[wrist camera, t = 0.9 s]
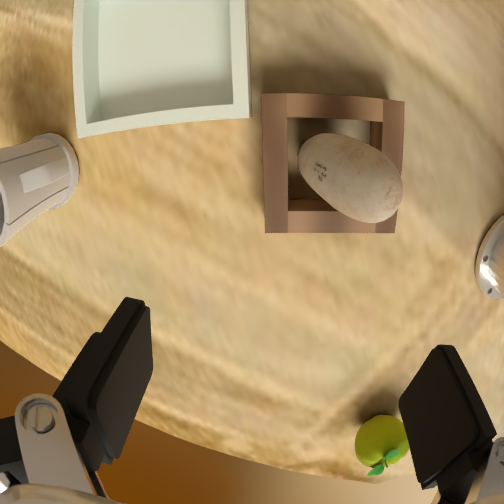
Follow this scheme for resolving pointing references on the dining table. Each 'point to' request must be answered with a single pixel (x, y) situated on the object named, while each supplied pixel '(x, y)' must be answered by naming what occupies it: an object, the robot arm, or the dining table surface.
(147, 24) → the tray
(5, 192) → the cup
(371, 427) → the fruit
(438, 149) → the dining table surface
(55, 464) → the robot arm
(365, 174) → the stone
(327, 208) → the pocket frame
